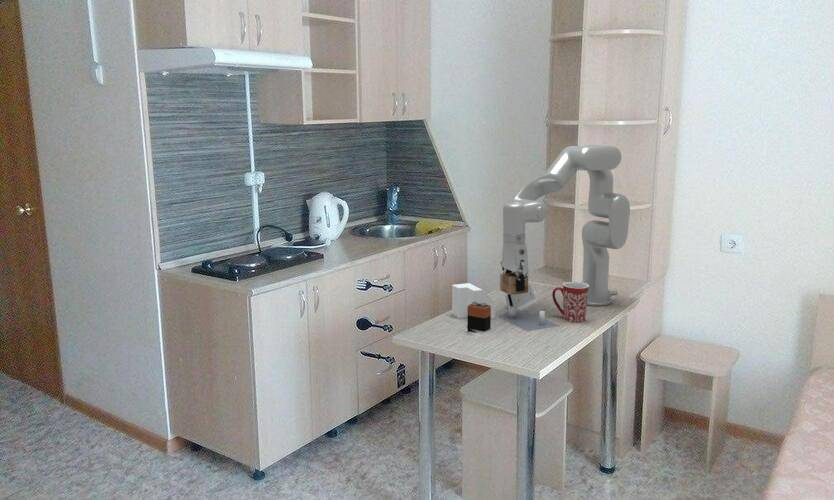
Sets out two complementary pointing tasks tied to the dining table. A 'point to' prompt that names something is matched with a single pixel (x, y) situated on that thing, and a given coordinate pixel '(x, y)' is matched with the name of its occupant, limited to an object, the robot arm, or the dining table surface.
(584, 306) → the mug
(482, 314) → the battery
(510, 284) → the brown wooden hollow block
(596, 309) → the dining table surface
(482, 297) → the corner bracket
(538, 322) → the peg stand
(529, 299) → the grey electronic device
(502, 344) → the dining table surface
